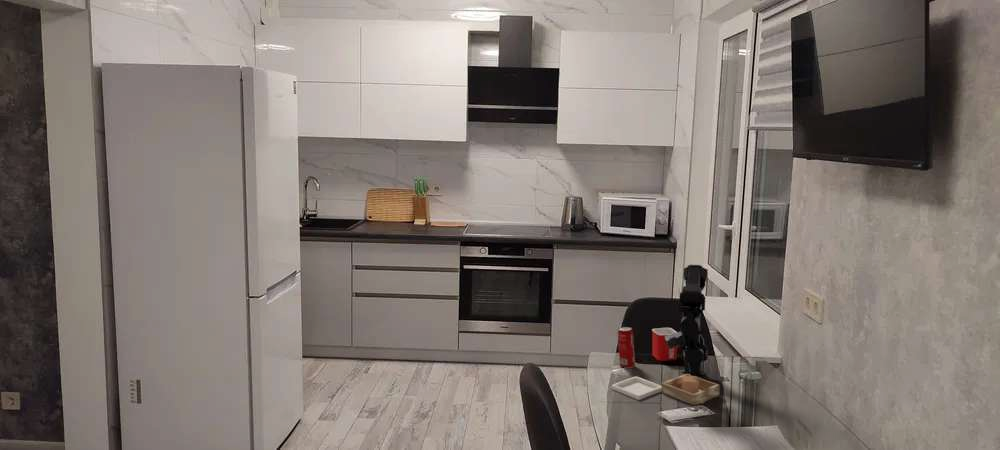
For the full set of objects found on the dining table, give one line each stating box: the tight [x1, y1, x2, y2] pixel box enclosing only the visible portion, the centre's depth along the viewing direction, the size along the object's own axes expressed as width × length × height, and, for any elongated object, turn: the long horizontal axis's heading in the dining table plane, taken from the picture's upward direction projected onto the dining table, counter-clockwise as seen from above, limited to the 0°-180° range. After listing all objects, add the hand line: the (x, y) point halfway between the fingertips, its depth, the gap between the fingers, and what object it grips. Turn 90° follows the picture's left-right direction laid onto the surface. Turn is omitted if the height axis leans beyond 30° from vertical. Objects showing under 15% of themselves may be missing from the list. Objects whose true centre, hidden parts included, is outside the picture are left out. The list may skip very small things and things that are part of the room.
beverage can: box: [617, 326, 636, 369], centre depth 262 cm, size 6×6×15 cm
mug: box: [651, 327, 680, 362], centre depth 271 cm, size 12×8×11 cm
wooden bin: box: [660, 374, 721, 406], centre depth 234 cm, size 14×14×4 cm
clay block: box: [681, 375, 699, 394], centre depth 234 cm, size 5×5×5 cm
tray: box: [610, 375, 661, 401], centre depth 239 cm, size 13×13×2 cm
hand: (690, 370), depth 233 cm, fingers open, 9 cm apart
